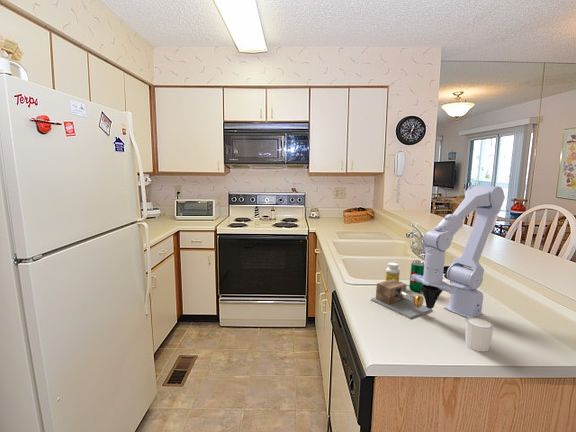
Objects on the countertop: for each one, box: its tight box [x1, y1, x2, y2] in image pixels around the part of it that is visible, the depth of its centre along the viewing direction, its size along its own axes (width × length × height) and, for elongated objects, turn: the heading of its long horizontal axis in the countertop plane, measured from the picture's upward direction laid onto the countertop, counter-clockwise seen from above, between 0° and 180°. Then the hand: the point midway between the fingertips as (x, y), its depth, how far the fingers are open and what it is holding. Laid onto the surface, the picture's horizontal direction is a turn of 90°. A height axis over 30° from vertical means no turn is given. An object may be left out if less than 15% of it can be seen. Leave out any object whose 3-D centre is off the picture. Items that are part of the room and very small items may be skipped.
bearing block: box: [375, 279, 408, 305], centre depth 118 cm, size 6×9×6 cm, turn 123°
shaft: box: [395, 289, 425, 308], centre depth 112 cm, size 10×4×4 cm, turn 33°
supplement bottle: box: [385, 262, 400, 282], centre depth 133 cm, size 5×5×10 cm
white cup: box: [464, 317, 495, 353], centre depth 88 cm, size 7×7×7 cm
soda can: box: [409, 259, 425, 293], centre depth 129 cm, size 5×5×12 cm
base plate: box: [370, 296, 433, 320], centre depth 115 cm, size 17×12×1 cm
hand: (430, 307), depth 105 cm, fingers closed
